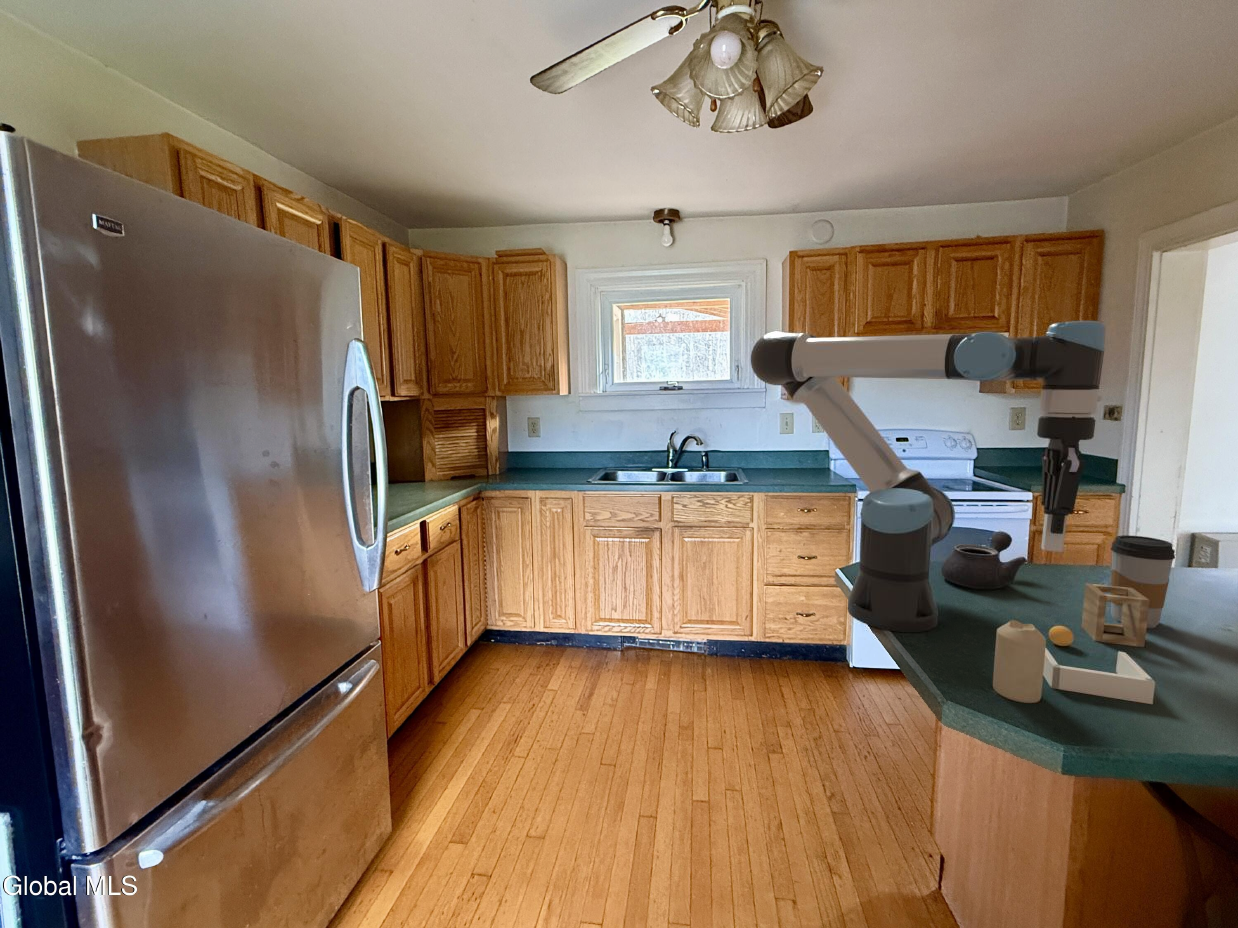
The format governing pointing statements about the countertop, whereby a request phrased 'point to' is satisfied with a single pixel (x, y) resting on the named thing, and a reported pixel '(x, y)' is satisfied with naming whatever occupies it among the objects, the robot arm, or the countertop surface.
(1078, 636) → the countertop surface
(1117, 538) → the coffee cup
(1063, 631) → the ball
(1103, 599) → the wooden cage
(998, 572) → the teapot
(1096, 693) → the white u-shaped corral
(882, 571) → the robot arm
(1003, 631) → the candle
